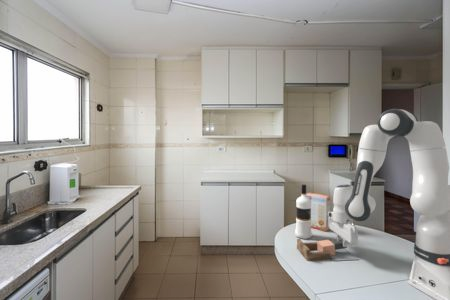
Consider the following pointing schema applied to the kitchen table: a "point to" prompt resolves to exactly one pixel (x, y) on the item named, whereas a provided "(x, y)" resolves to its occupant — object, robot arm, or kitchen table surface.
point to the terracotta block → (329, 246)
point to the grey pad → (343, 255)
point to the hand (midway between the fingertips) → (342, 244)
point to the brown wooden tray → (305, 251)
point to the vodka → (303, 216)
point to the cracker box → (319, 211)
